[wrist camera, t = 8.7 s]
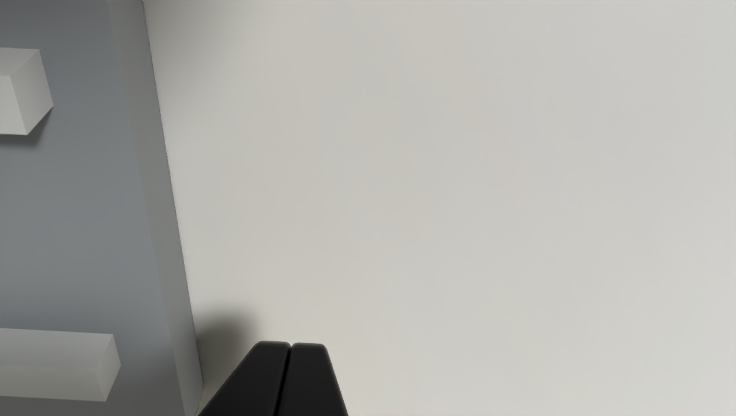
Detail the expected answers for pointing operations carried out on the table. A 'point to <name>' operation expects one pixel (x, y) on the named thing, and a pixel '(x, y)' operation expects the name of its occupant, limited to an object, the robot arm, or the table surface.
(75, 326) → the grey slider track board
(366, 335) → the table surface
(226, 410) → the robot arm
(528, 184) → the table surface
